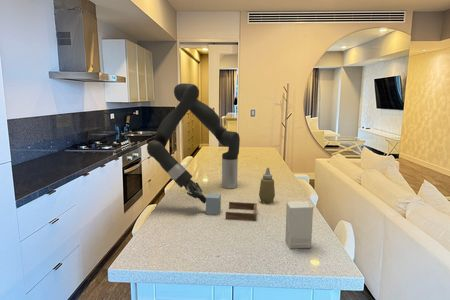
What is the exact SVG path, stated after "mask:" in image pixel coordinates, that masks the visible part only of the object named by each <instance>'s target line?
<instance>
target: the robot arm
mask: <svg viewBox="0 0 450 300" xmlns="http://www.w3.org/2000/svg"><path fill="white" fill-rule="evenodd" d="M173 95H174V98H175V99H176V100H177V101H178V103H177V105H176V107H174V109H173V110H172V111H171V112H169V113H168V114H167V115H166V116H165V117H164V118H163V120H162V121H161V123H160V124H159V126H158V129H156V131H155V136H154V137H153V139H152V140H151V141H149V142H148V144H147V146H146V151H147V153H148V155H149V157H150V158H153V159H154V160H155V161H157V163H158V164H159V165H160V167H161V168H162V169H163V171H165V172H166V173H167V175H168V176H169V177H170V179H171V180H173V181H174V183H175V184H177V186H178V187H179V188H183V187H184V188H185V190H186V191H187V192H186V194H187V195H188V196H190V197H192V198H193V199H198V200H199V201H201V203H202V204H206V196H204V194H203V190H202V188H201V186H200V185H199V183H198V182H195V181H193V180H192V178H193V176H192V174H191V173H190V172H189V171H188V170H187V169H186V168H185V167H184V166H183V165H182V164H181V163H179V162H178V161H177V159H176V158H175V157H174V156H173V155H171V154H170V152H169V151H168V150H167V148H166V147H167V145H168V142H169V140H170V139H171V137H172V136H173V135H174V134H173V133H175V130H176V129H177V127H178V125H179V124H180V122H181V121H182V120H183V118H184V117H185V116H186V115H187V113H188V112H189V111H190V112H191V113H192V114H193V116H195V118H197V120H198V121H199V122H200V123H201V124H202V125H203V126H204V127H205V128H206V129H207V130H208V131H209V133H211V134H212V135H213V136H214V137H215V139H216V140H217V141H218V143H219V144H220V145H222V146H223V147H226V148H228V149H227V151H226V152H223V153H222V155H221V187H222V188H223V189H229V190H231V189H236V188H237V187H238V169H239V167H238V166H239V165H238V161H239V160H238V159H239V154H240V142H241V140H240V139H241V138H240V134H239V133H238V132H236V131H231V130H226V129H225V128H224V127H223V126H222V125H221V119H220V118H221V117H220V116H219V115H218V114H217V112H216V111H215V110H214V109H213V108H212V107H211V106H209V105H208V104H205V103H204V102H202V101H201V100H199V97H200V89H199V88H198V86H197V85H196V84H193V83H178V84H177V85H175V87H174V88H173Z"/></svg>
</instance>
